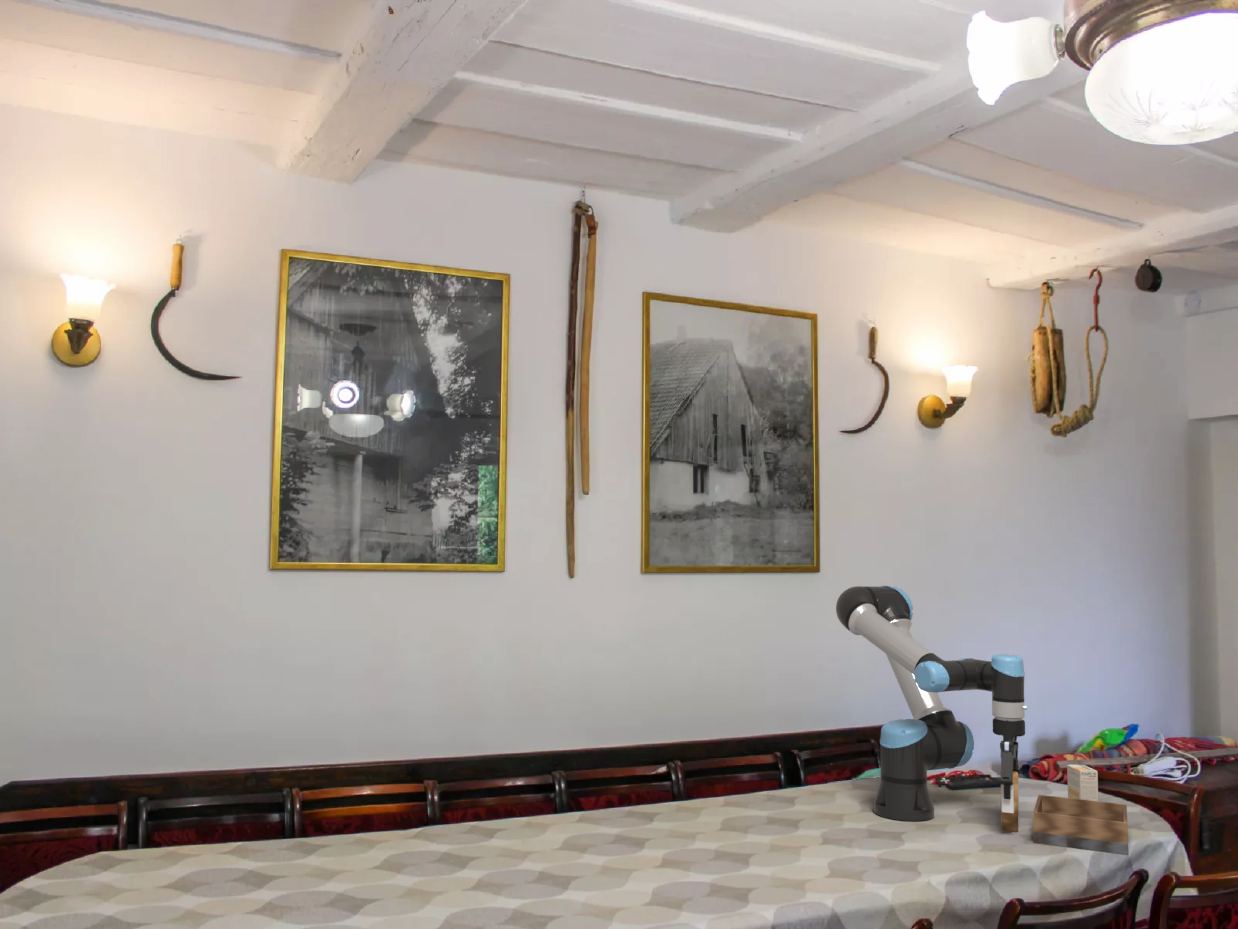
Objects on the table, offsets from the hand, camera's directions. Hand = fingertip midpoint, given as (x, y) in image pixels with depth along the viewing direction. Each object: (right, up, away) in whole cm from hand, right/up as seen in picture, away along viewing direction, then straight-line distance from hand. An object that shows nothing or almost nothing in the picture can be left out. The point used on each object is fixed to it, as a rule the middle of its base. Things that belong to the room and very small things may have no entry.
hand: (1010, 806), depth 255 cm
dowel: (0, -6, 0) cm, 6 cm away
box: (+15, -6, -6) cm, 17 cm away
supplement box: (+23, -7, +12) cm, 27 cm away
